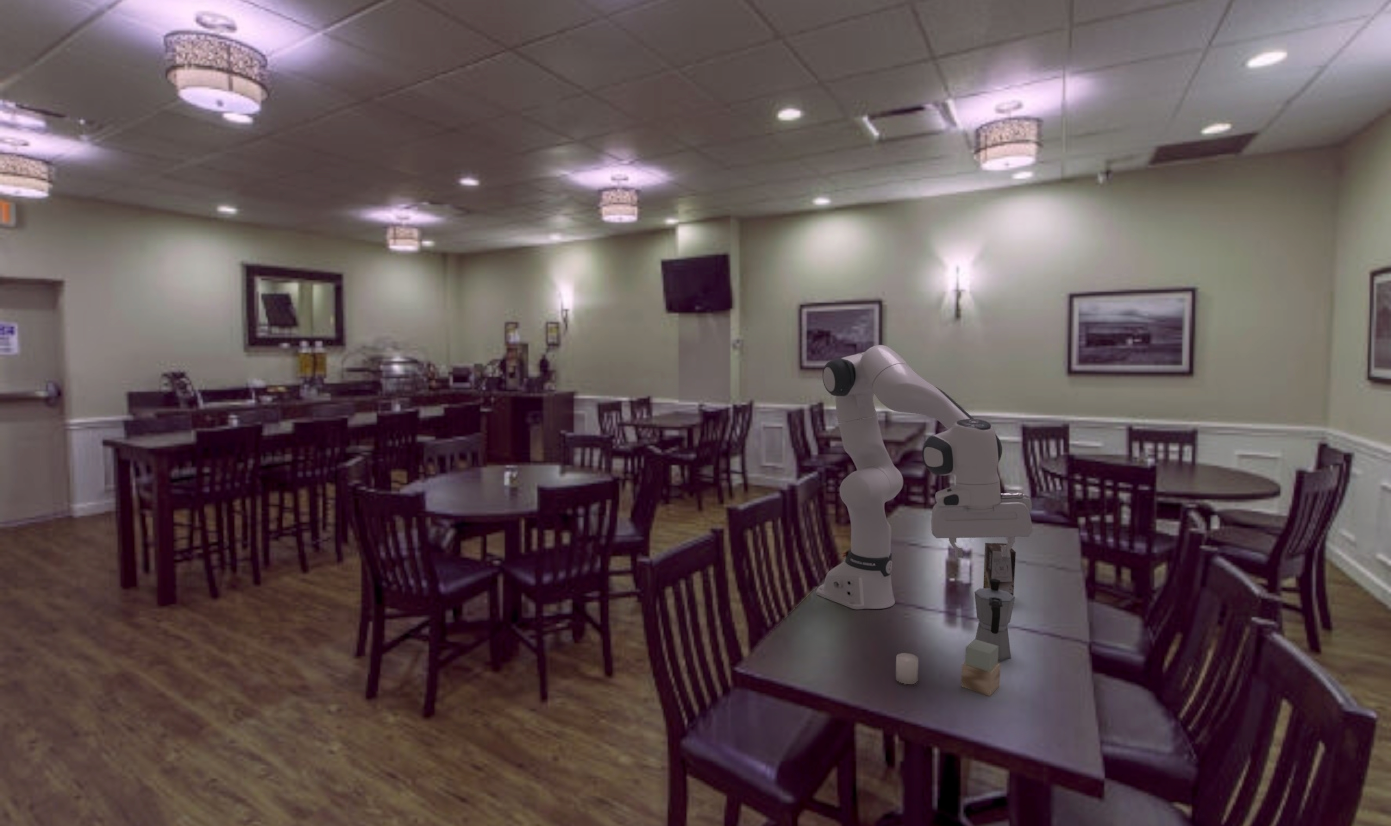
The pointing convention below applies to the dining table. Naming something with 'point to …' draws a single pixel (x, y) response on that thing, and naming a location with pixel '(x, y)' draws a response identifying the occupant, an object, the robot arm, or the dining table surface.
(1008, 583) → the coffee box
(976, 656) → the tower top
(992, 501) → the robot arm
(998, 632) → the coffee maker
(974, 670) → the tower base
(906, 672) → the grey rounded cylinder
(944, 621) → the dining table surface
